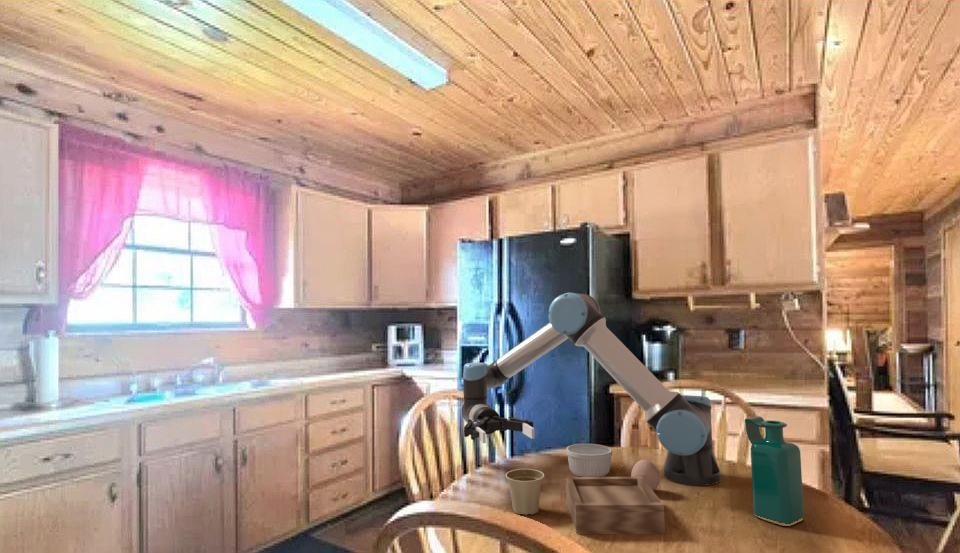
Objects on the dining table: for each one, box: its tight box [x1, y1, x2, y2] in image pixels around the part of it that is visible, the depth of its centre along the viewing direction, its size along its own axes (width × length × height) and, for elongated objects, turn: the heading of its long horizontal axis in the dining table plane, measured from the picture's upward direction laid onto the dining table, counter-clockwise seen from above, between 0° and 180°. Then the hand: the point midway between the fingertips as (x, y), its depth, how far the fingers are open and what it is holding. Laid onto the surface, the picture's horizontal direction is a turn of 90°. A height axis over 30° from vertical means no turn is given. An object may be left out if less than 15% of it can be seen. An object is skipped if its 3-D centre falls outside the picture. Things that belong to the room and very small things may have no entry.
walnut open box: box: [565, 476, 666, 535], centre depth 124 cm, size 19×19×6 cm
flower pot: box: [505, 468, 545, 516], centre depth 129 cm, size 9×9×9 cm
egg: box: [630, 459, 661, 492], centre depth 140 cm, size 7×7×8 cm
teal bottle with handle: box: [744, 415, 805, 524], centre depth 122 cm, size 10×8×22 cm
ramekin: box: [566, 443, 613, 477], centre depth 157 cm, size 13×13×7 cm
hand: (509, 435), depth 139 cm, fingers open, 13 cm apart
